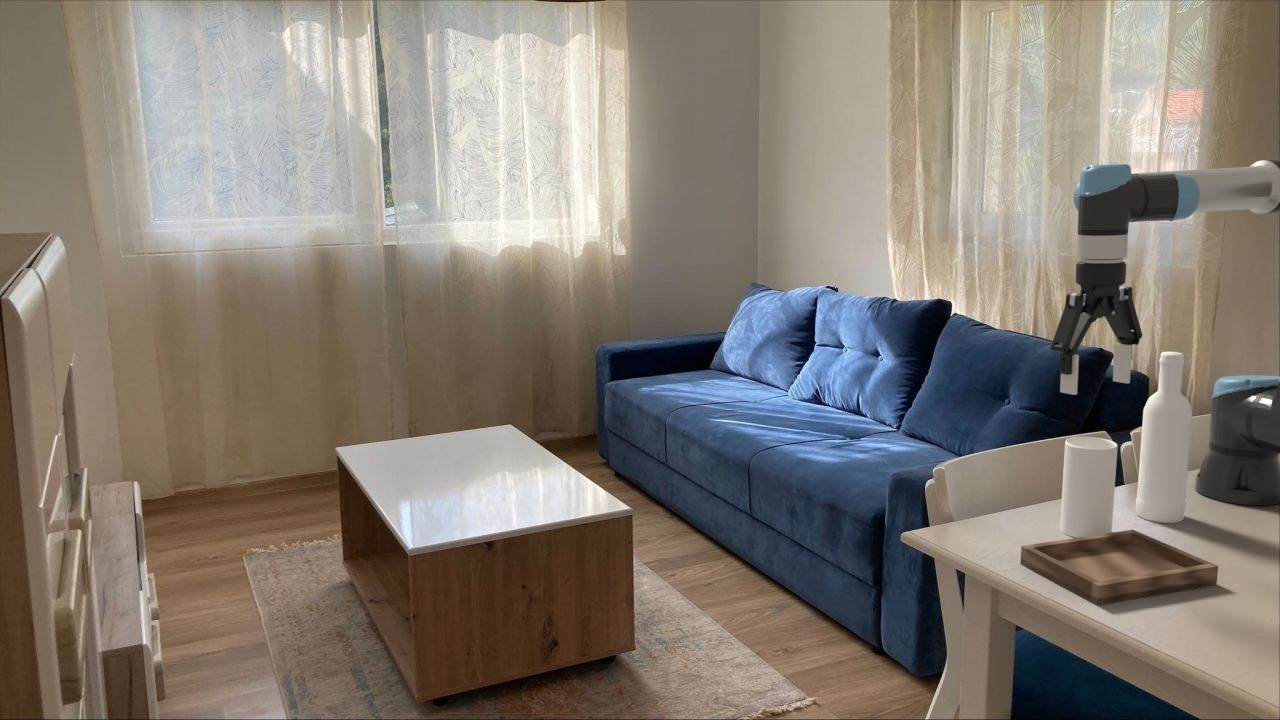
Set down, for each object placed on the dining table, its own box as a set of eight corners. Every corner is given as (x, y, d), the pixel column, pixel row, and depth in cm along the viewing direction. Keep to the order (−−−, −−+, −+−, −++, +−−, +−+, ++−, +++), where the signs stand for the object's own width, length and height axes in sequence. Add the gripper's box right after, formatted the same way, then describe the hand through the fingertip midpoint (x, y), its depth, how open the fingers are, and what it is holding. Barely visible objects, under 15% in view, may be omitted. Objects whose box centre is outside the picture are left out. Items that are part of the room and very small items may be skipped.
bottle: (1194, 522, 181) (1208, 356, 176) (1153, 524, 180) (1166, 358, 175) (1165, 507, 189) (1178, 348, 183) (1126, 510, 188) (1137, 350, 182)
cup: (1116, 541, 172) (1123, 449, 170) (1065, 538, 174) (1070, 448, 171) (1105, 525, 180) (1111, 437, 178) (1055, 522, 182) (1060, 435, 179)
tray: (1131, 546, 170) (1132, 529, 169) (1216, 584, 154) (1218, 565, 153) (1020, 563, 163) (1021, 545, 163) (1097, 605, 147) (1098, 585, 147)
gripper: (1128, 253, 175) (1122, 374, 179) (1030, 265, 163) (1026, 394, 167) (1169, 256, 169) (1162, 381, 173) (1070, 268, 157) (1065, 402, 161)
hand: (1095, 387), depth 170 cm, fingers open, 13 cm apart
